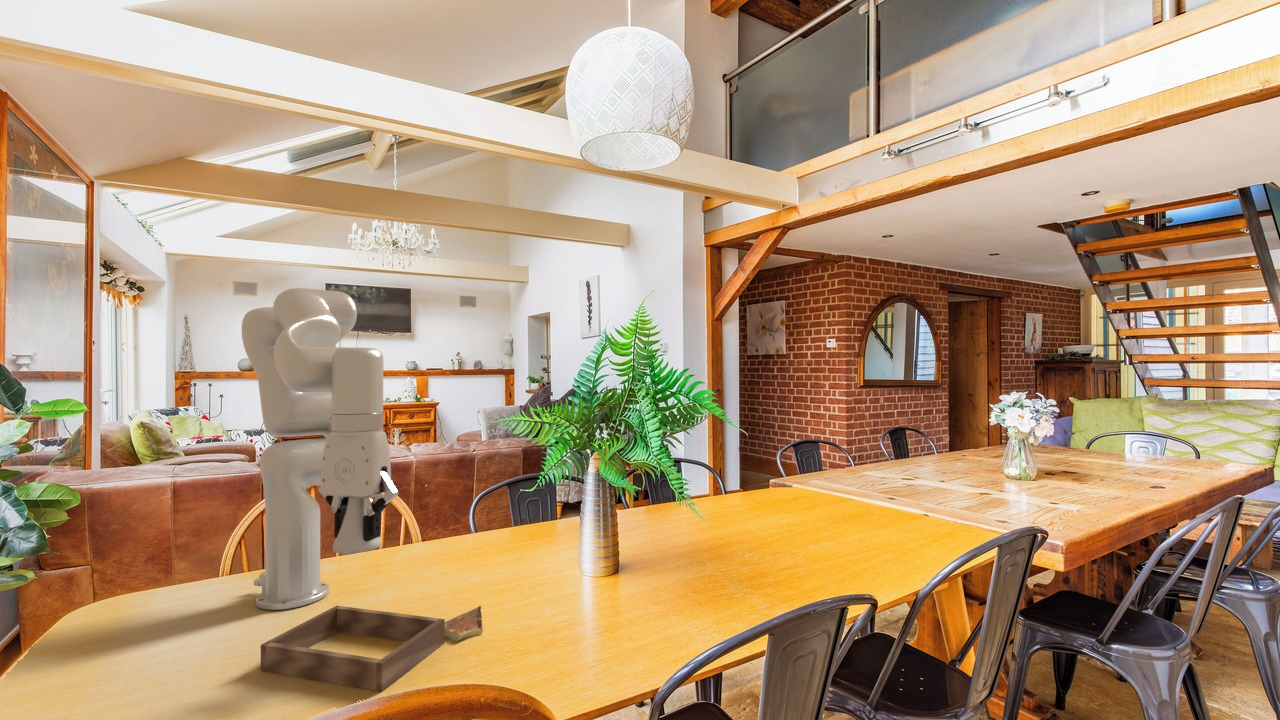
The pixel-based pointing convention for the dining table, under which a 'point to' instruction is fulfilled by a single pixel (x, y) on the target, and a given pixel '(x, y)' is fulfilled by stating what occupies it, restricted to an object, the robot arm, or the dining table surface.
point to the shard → (464, 625)
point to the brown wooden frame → (351, 670)
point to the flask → (354, 530)
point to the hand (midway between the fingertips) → (357, 536)
